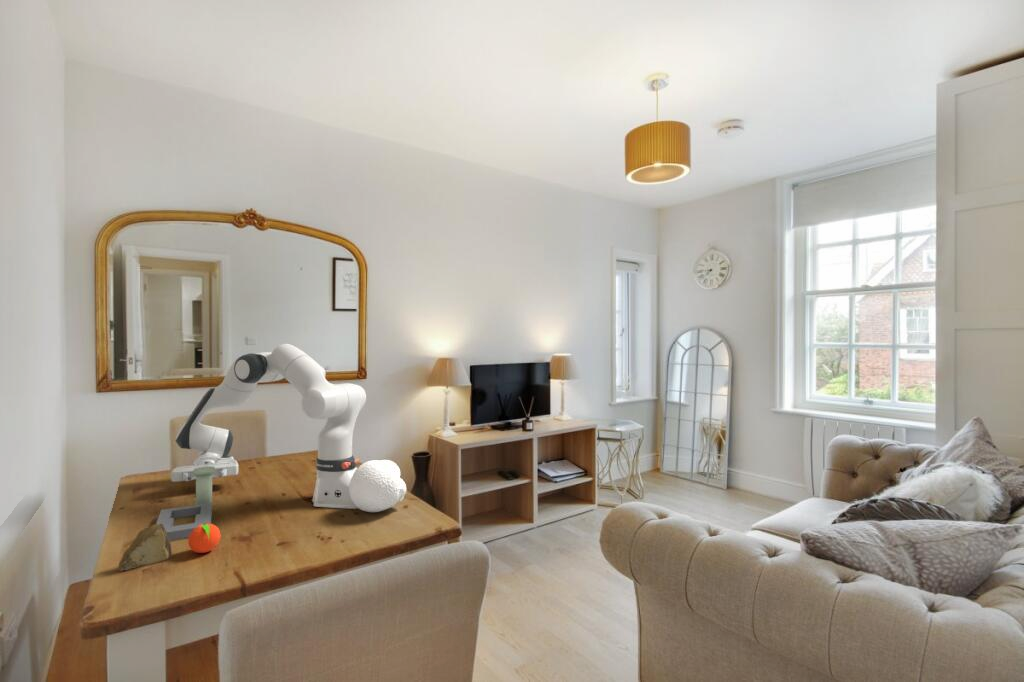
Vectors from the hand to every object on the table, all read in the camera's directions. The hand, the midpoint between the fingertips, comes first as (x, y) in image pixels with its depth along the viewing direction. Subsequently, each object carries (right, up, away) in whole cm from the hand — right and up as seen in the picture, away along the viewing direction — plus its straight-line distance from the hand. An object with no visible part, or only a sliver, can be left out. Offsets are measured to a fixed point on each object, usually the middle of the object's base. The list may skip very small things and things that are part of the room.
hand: (205, 476), depth 164 cm
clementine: (+28, -7, -43) cm, 52 cm away
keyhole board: (+11, -7, -26) cm, 29 cm away
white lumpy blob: (+62, -7, -12) cm, 63 cm away
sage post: (+6, -7, -11) cm, 14 cm away
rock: (+17, -7, -49) cm, 53 cm away
